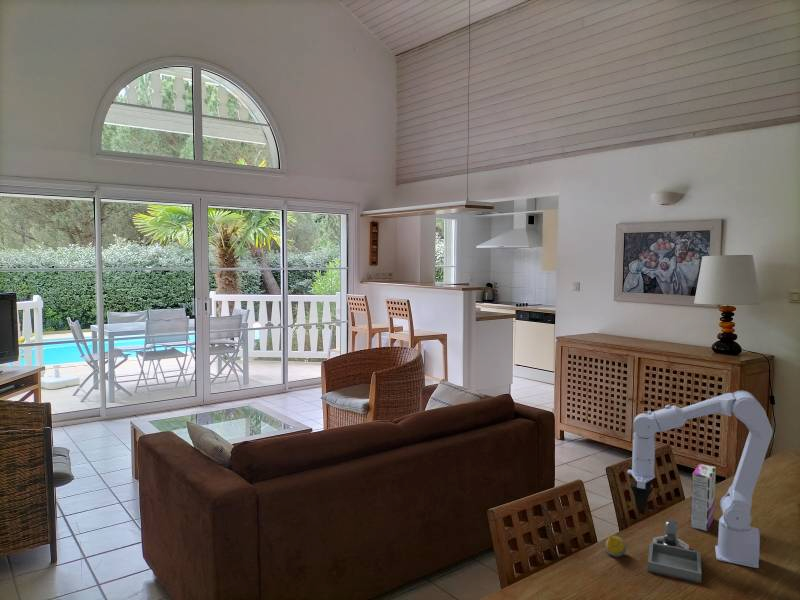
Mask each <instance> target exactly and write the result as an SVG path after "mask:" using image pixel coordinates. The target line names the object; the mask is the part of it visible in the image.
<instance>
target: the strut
mask: <svg viewBox="0 0 800 600" xmlns="http://www.w3.org/2000/svg"><path fill="white" fill-rule="evenodd" d="M678 524H679V523H678V522H677V521H676V520H673V519H666V520H665V525H664V526H665V528H664V536H665V540H664V541H662V544H664V545H669V546H674V547H679V548H680V545H679V544H678V543H677V539H678V528H679V527H678Z"/></svg>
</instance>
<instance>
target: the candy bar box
mask: <svg viewBox="0 0 800 600" xmlns="http://www.w3.org/2000/svg"><path fill="white" fill-rule="evenodd" d="M716 469H717V468H716V466H712V465H707V464H703V463H698V465H697V467H696V468H695V470H694V471H693V472H692V474H691V504H690V505H691V506H690V528H692V529H696V530H700V531H705V532H709V529H710V528H711V525H712V523H714V522H713V521H714V520H715V501H716V496H715V495H716V476H717V475H716V474H717V473H716V472H717V470H716Z"/></svg>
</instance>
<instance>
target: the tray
mask: <svg viewBox="0 0 800 600" xmlns="http://www.w3.org/2000/svg"><path fill="white" fill-rule="evenodd" d="M647 558H648V559H647V572H648V573H653V574H655V575H656V574H657V575H660V576H666V577H669V578H674V579H677V580H678V579H679V580H683V581H688V582H691V583H696V584H700V585H701V584H702V562H701V552H700V551H698V550H691V549H689V550H688V549H685V548H684V547H680V546H679V547H674V546H669V545H664V544H663V543H660V542H657V543H654V542H653V541H649V549H648V557H647Z"/></svg>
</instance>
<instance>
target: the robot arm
mask: <svg viewBox="0 0 800 600" xmlns="http://www.w3.org/2000/svg"><path fill="white" fill-rule="evenodd" d="M756 398H757V397H755V396H754V395H753V394H752V393H751V392H749V391H746V390H737V391H735V392H728V393H727V392H726V393H723V394H720V395H717V396H714V397H711V398H708V399H706V400H705V399H704V400H702V401H700V402H697V403H693V404H690V405H687V406H684V407H679V406H677V405H670V404H667V405H664V408H661V409H658V410H653V411H652V410H648V411H646V412H647V413H644V412H643V413H639V414H637V415H636V416H635V417H634V420H633V422H632V430H633V431H634V432H633V435H632V436H633V440H632V455H631V456H632V458H631V459H632V460H631V462H632V463H631V469H628V470H627V472H626V473H627V474H628V475H631V476H632V478H633V479H634V481H635V482H634V483H633V482H631V483H630V485H629V486H630V489H631V491H632V493H633V496H634V502H635V508H636V510H637V511H643V512H645V511H646V509H647V506H648V500H649V498H650V495H651V493H652V492H653V490H654V487H652V486H651V485H652V483H653V481H654V480H655V476H656V475H655V461H656V460H655V458H656V457H655V455H656V454H655V453H656V442H655V434H656V433H661V432H666V431H669V430H673V429H676V428H680V427H683V426H684V425H685V423H686V421H687V420H691V419H696V418H699V417H703V416H704V417H705V416H708V415H712V414H713V415H714V414H722V415H724V416H727V417H732V414H731V413H733V414H734V416H735V417H736V419H738V420H739V421H740V422H742V423H743V424H744V425H745V426H746V428H747V429H748V435H747V438H746V440H745V443H744V447H743V450H742V453H741V456H740V460H739V462H738V466H737V469H736V472H735V474H734V478H733V480H732V483H731V485H730V486H729V487H728V490H727V492H726V493H725V495H724V496H722V497H721V499H720V502H719V506H720V509H721V512H722V515H721V517H720V518H718V519H719V520H718V535H717V536H718V538H717V539H718V540H717V545H715V546H714V551H715V557H716V560H718V561H721V562H726V563H729V564H736V565H741V566H745V567H749V568H755V569H759V568H760V567H759V563H760V562H759V560H760V545H761V543H760V541H761V540H760V539H761V537H760V536H761V535H760V530H759V528H757V527H753V526H751V523H752V515H751V510H752V506H753V505H752V504H753V494H754V490H755V488H756V485H757V482H758V479H759V476H760V473H761V469H762V467H763V464H764V461H765V459H766V454H767V453H768V449H769V445H770V442H771V441H772V440H771V439H772V436H773V433H774V432H773V431H774V430H773V428H772V426H771V424H770V423H771V422H770V421H769V418H768V416H767V412H766V410H765V408H764V407H762V405H761V403H760V402H759V400H757V399H756Z"/></svg>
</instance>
